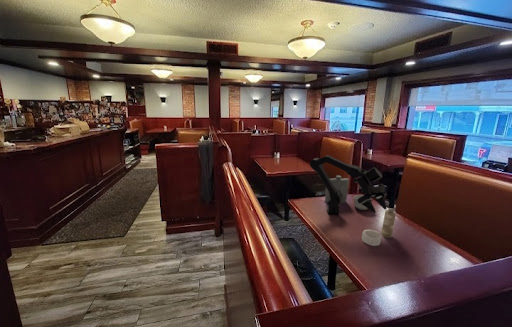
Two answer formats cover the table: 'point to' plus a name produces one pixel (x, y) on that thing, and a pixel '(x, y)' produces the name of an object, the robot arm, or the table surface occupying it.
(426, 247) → the table surface
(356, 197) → the teacup
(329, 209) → the robot arm
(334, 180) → the hip flask
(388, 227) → the pepper mill
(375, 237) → the socket
